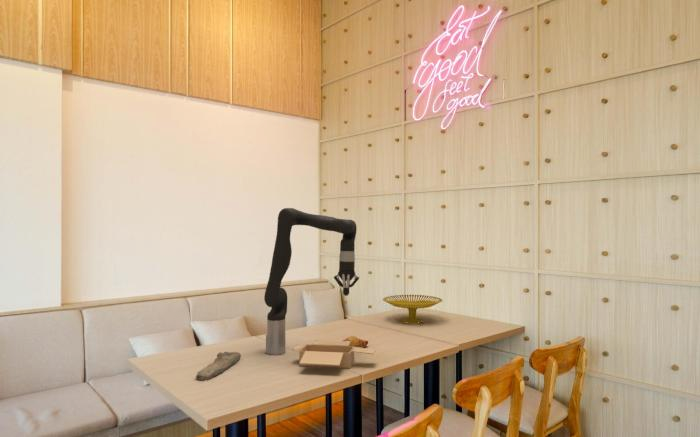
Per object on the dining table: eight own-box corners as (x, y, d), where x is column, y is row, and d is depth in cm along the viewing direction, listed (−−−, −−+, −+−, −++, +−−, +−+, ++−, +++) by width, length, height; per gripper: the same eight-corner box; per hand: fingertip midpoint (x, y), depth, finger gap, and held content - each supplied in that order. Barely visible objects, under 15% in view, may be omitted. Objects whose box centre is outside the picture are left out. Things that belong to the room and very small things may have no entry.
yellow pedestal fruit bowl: (371, 323, 302) (371, 300, 302) (400, 313, 334) (400, 292, 334) (426, 331, 278) (426, 306, 278) (452, 319, 311) (452, 297, 311)
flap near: (305, 350, 210) (299, 362, 200) (343, 352, 207) (339, 364, 197) (305, 351, 210) (299, 363, 200) (343, 353, 207) (339, 365, 197)
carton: (290, 365, 211) (290, 350, 212) (302, 353, 231) (302, 339, 231) (350, 368, 207) (350, 352, 207) (356, 355, 227) (356, 341, 227)
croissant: (334, 359, 233) (337, 347, 229) (327, 346, 240) (329, 334, 237) (370, 353, 242) (373, 341, 239) (362, 340, 250) (365, 329, 247)
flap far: (352, 350, 209) (373, 353, 208) (354, 346, 216) (375, 349, 215) (352, 352, 209) (373, 354, 208) (354, 347, 216) (375, 350, 215)
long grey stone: (189, 384, 193) (211, 386, 191) (189, 372, 193) (211, 374, 191) (226, 355, 227) (245, 357, 225) (227, 345, 227) (245, 347, 225)
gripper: (332, 260, 219) (331, 296, 219) (359, 261, 217) (358, 297, 217) (335, 259, 227) (334, 293, 227) (361, 260, 224) (360, 295, 224)
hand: (346, 295), depth 222 cm, fingers closed
